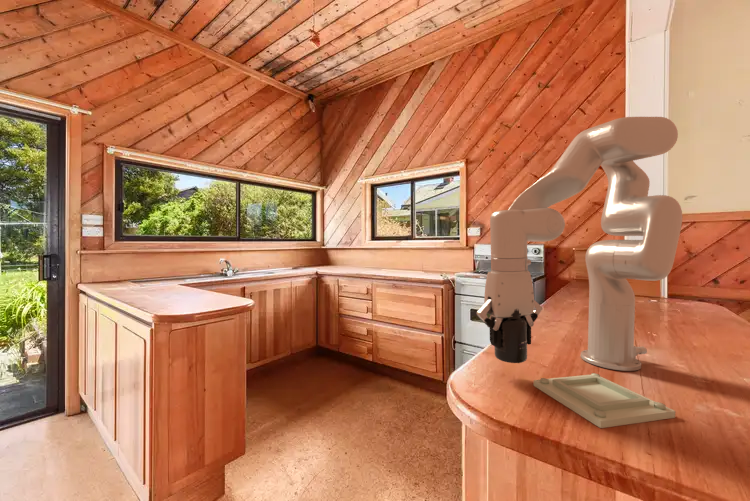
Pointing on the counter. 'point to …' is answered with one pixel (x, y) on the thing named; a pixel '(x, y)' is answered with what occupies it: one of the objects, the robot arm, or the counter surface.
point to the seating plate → (603, 400)
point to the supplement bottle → (513, 339)
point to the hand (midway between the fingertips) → (510, 343)
